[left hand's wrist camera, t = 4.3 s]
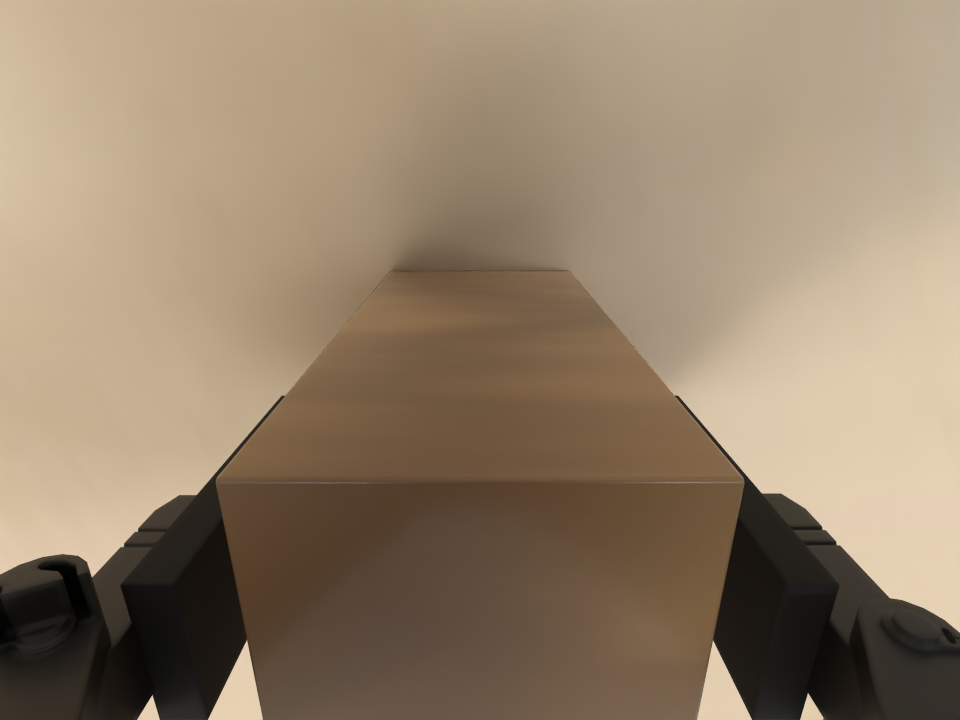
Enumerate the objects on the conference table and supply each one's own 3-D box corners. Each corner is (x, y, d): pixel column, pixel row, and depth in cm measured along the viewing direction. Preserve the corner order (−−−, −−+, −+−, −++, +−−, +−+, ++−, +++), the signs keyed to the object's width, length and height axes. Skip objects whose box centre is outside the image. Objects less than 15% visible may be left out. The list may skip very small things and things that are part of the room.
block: (570, 270, 17) (748, 479, 6) (558, 475, 19) (663, 892, 8) (389, 270, 17) (212, 478, 6) (401, 475, 19) (296, 892, 8)
